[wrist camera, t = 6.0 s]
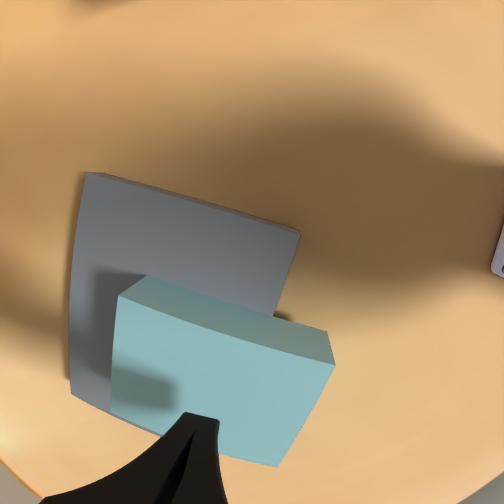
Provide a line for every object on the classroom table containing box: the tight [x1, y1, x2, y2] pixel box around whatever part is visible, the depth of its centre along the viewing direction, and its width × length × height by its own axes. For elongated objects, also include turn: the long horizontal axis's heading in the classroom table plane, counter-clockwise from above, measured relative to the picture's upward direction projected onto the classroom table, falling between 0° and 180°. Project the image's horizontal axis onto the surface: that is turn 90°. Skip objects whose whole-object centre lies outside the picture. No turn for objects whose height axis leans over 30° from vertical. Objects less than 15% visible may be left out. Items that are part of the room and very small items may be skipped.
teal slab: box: [110, 275, 335, 467], centre depth 14 cm, size 3×7×9 cm
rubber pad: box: [69, 173, 301, 456], centre depth 16 cm, size 11×15×2 cm
